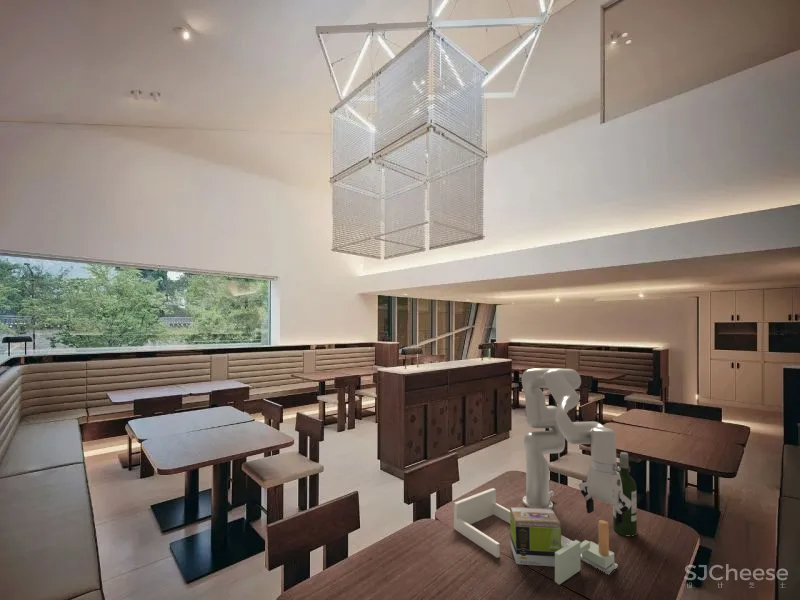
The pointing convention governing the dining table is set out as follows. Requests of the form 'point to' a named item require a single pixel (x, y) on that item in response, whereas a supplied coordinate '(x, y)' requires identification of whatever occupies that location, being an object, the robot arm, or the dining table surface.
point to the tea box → (534, 535)
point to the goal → (479, 518)
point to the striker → (583, 554)
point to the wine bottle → (630, 492)
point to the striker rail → (608, 570)
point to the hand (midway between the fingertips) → (604, 518)
